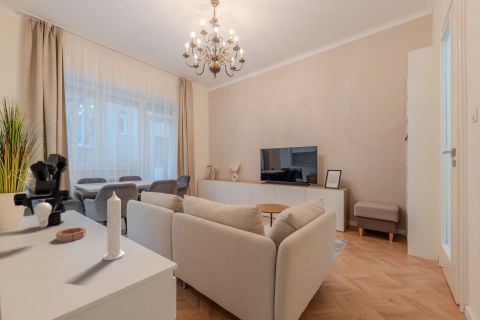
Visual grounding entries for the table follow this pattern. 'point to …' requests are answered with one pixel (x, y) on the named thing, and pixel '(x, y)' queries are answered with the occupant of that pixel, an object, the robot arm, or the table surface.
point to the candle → (114, 229)
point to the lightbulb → (42, 213)
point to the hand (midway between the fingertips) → (43, 213)
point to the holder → (70, 234)
